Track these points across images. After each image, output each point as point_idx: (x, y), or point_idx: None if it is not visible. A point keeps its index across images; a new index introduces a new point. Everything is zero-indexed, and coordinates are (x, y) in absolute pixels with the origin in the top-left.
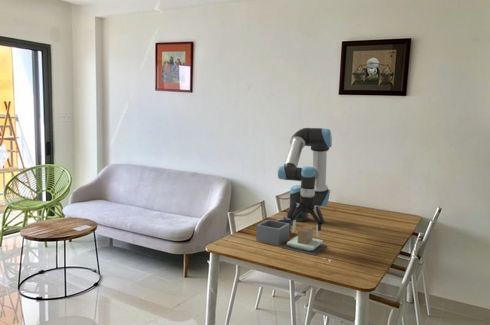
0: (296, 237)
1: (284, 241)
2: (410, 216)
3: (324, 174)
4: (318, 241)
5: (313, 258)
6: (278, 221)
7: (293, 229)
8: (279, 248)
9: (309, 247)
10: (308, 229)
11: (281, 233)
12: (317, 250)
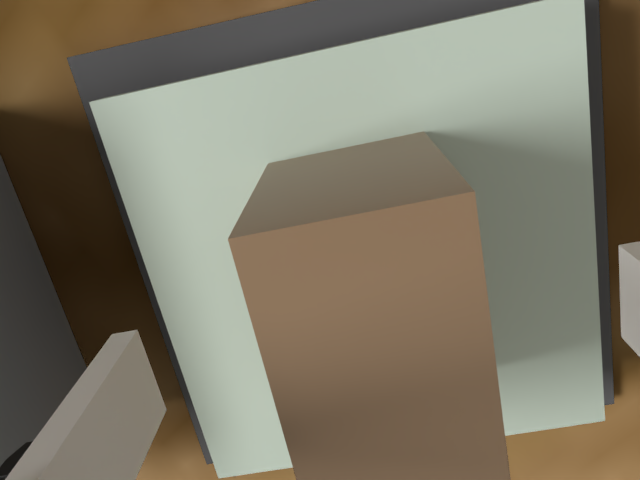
0: (157, 215)
1: (42, 260)
2: None
3: None
4: (544, 119)
5: (634, 470)
6: None
7: (144, 451)
8: (185, 476)
9: (547, 426)
10: (460, 395)
11: (5, 448)
12: None
